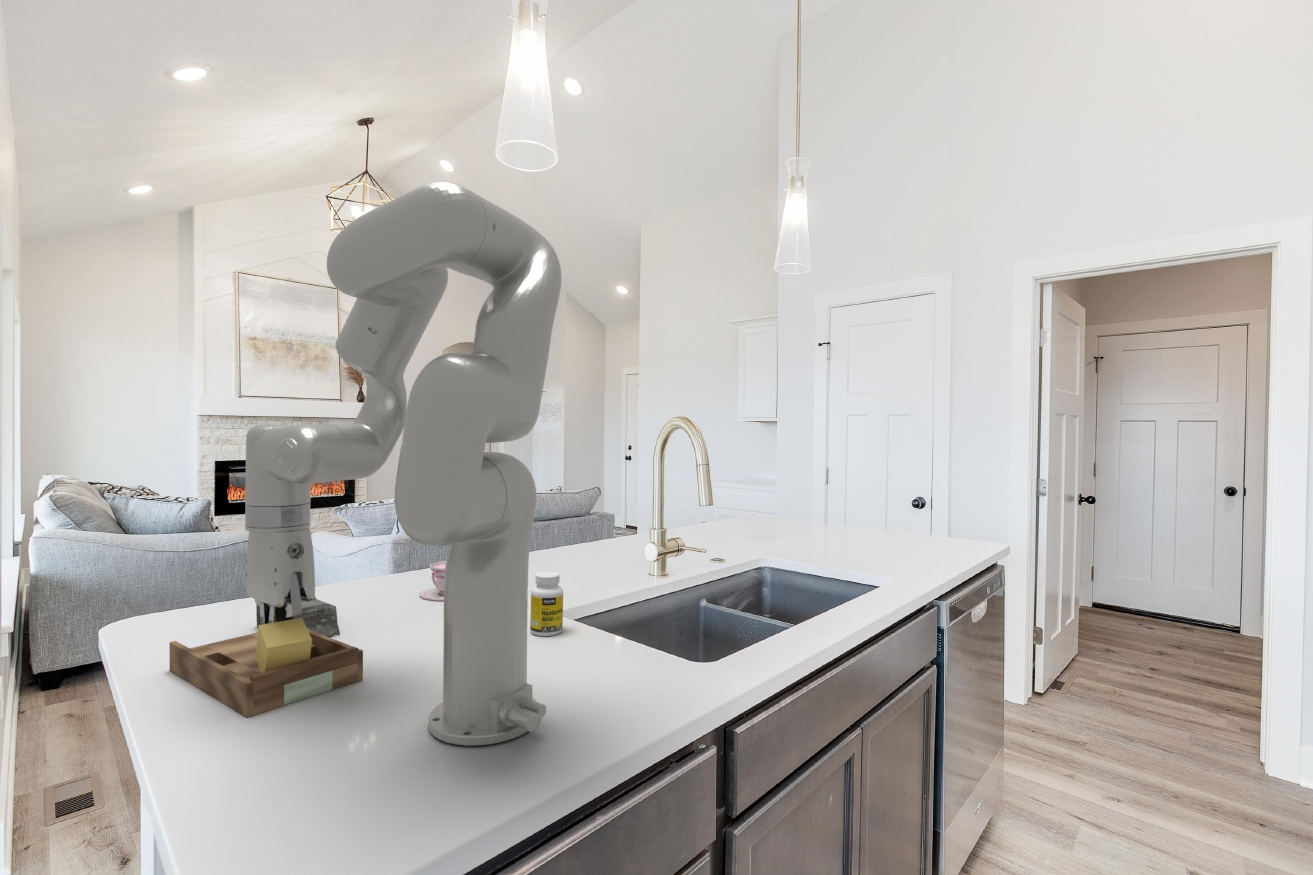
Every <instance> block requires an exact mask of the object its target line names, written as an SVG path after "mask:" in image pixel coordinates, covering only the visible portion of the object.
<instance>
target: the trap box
mask: <svg viewBox="0 0 1313 875" xmlns="http://www.w3.org/2000/svg"><path fill="white" fill-rule="evenodd" d="M307 630H308V629H307ZM308 632H309V634H310V636H311V638H312V644H311V653H310V659H308V660H304V661H301V662H297V663H294V664H290V665H287V666H283V667H280V668H276V669H272V670H269V671H265V672H262V673H261V672H260V669H259V667H258V664H257V661H256V648H257V637H258V632H255V633H249V634H245V635H242V636H241V635H240V636H236V637H233V638H228V639H223V640H221V641H216V642H211V643H210V642H209V643H207V644H206V643H205V644H203V645H199V646H194V647H188V646H187V645H184V644H182V643H181V642H178V641H177V640H175V641H173V640H172V641H170V642H169V672H171V673H172V674H174V675H176V676H178V677H179V678H181V679H183V681H185V682H188V683H189V684H191V685H192V686H194V687H196V688H197V689H199V690H201V691H202V692H204V693H205V694H207V695H209V697H212V698H213V699H215V700H217V701H218V702H221V704H223V705H225V706H227V707H229V708H230V709H232V710H234V711H235V712H237V713H238V714H240V715H242V716H244V717H245V718H251V717H253V716H256V715H259V714H262V713H265V712H268V711H271V710H275V709H278V708H281V707H284V706H286V705H289V704H293V703H295V702H298V701H301V700H304V699H308V698H310V697H315V696H317V695H320V694H324V693H326V692H327V693H328V692H329V691H333V690H335V689H339V688H341V687H344V686H348V685H351V684H353V683H357V682H361V681H362V680H364V673H363V672H364V650H363V649H362V648H358V647H356V646H353V645H350V644H348V643H345V642H342V641H339V640H337V639H335V638H332V637H330V636H328V637H327V636H324V635H322V634H319V633H316V632H314V631H311V630H308Z"/></svg>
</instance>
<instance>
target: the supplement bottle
mask: <svg viewBox="0 0 1313 875" xmlns="http://www.w3.org/2000/svg"><path fill="white" fill-rule="evenodd" d="M560 581H561V580H560V573H558V572H554V571H542V572H537V573H536V574H535V586H533V588H532V589H531V591H530V622H529V624H530V625H529V629H530V633H531V634H532V635H535V636H538V637H551V636H552V637H553V636H557V635H559V634H561V632H563V624H564V623H563V622H564V621H563V620H564V590H563V588H562V587H561V586H560V585H559V584H560Z"/></svg>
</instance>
